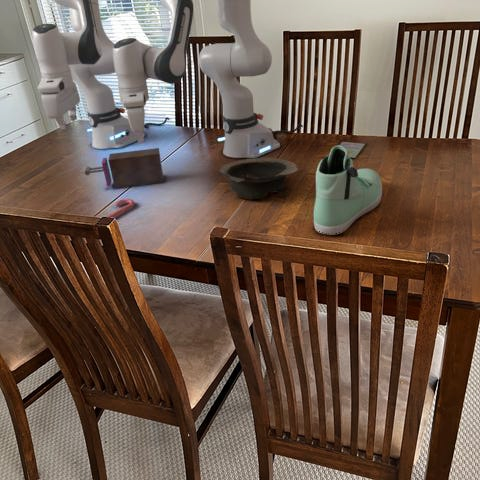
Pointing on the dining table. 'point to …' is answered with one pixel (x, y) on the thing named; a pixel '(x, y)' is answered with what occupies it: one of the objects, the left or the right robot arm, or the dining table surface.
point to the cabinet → (136, 168)
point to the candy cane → (118, 212)
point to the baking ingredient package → (352, 148)
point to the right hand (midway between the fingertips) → (141, 137)
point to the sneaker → (343, 192)
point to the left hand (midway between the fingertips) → (69, 124)
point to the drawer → (104, 168)
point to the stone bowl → (257, 176)
